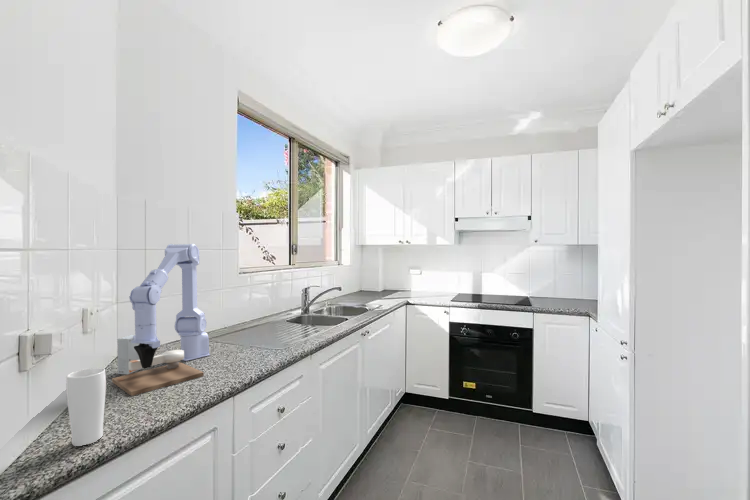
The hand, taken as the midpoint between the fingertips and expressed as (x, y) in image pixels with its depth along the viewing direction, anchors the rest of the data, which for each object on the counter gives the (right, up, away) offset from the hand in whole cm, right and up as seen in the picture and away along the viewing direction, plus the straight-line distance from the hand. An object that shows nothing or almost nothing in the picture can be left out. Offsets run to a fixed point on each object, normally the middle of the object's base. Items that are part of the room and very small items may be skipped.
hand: (146, 367), depth 115 cm
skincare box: (-12, -5, +11) cm, 17 cm away
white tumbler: (+9, -5, -35) cm, 37 cm away
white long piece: (-1, -1, +7) cm, 7 cm away
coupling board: (+2, -5, +3) cm, 6 cm away
